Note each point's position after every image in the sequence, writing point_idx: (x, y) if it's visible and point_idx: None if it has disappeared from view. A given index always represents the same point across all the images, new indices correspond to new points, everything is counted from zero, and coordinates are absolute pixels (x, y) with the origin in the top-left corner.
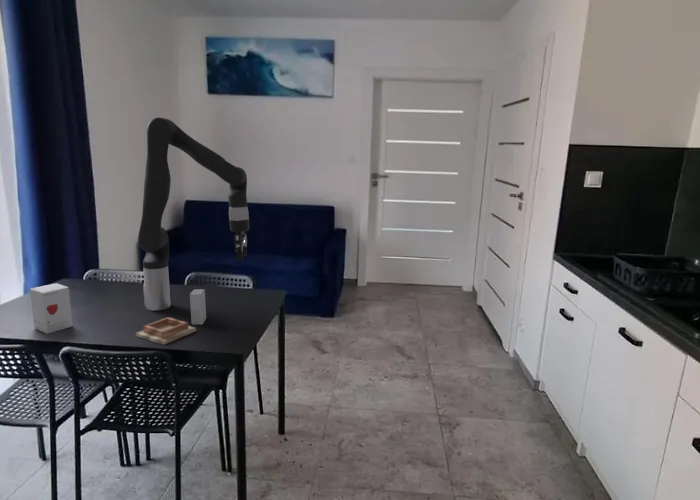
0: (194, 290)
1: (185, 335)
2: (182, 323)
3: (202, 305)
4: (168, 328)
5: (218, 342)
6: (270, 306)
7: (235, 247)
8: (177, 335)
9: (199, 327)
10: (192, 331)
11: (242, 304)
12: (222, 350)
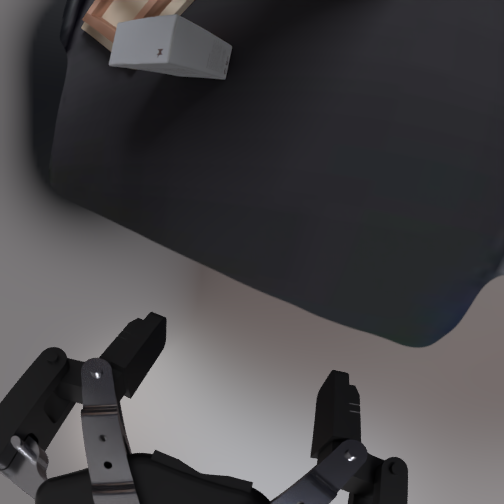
0: (157, 23)
1: None
2: None
3: (151, 70)
4: (144, 2)
5: (78, 137)
6: (303, 296)
7: (33, 370)
8: (99, 41)
9: None
10: None
11: (355, 215)
12: (55, 150)
